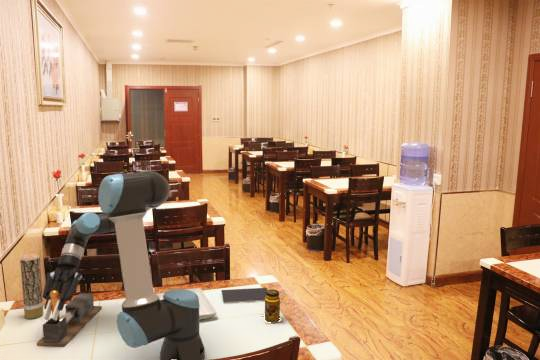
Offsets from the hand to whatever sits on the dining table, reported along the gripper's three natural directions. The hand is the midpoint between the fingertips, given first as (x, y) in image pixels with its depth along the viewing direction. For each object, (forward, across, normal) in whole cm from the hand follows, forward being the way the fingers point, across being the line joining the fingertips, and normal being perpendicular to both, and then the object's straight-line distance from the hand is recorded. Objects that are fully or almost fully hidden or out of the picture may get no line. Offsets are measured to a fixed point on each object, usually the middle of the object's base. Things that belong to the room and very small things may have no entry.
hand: (49, 318), depth 156 cm
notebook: (-26, -64, -42) cm, 81 cm away
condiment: (-12, -77, -27) cm, 83 cm away
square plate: (-14, -37, -30) cm, 49 cm away
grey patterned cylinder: (-8, +20, -22) cm, 31 cm away
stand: (-4, 0, -18) cm, 18 cm away
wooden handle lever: (-3, 0, -13) cm, 13 cm away
